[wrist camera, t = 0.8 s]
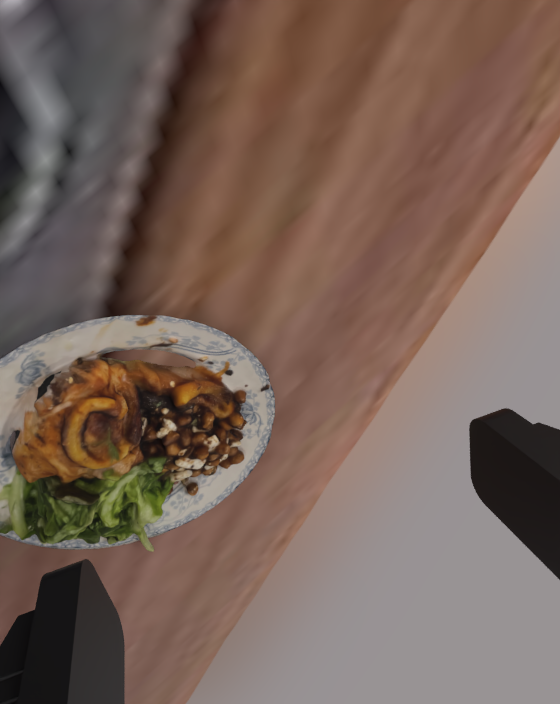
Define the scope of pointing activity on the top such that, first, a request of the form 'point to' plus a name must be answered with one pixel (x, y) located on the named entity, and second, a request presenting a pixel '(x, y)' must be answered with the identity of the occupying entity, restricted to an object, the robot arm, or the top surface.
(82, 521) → the plate of food
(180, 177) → the top surface
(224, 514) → the top surface
